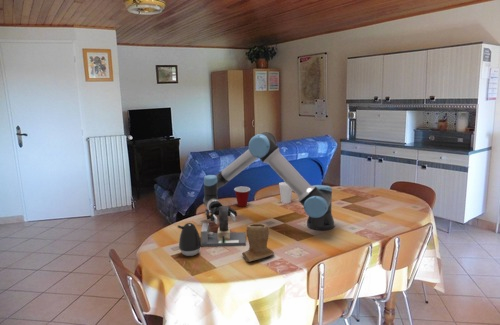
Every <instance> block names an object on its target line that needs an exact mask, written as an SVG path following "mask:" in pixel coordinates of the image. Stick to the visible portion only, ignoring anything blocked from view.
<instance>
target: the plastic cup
mask: <svg viewBox="0 0 500 325" xmlns="http://www.w3.org/2000/svg"><path fill="white" fill-rule="evenodd" d="M233 190H234V193H235V197H236V203H237V206H238V207H240V208H245V207H247V206H248V201H249V195H250V191H251V188H250V187H249V186H236V187H234V189H233Z"/></svg>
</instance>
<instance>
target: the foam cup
mask: <svg viewBox="0 0 500 325" xmlns="http://www.w3.org/2000/svg"><path fill="white" fill-rule="evenodd" d="M278 187H279V194H280V201H281V203H282V204H291V203H292V195H293V190H292V189H291V188H290V187H289V186H288V185H287V184H286V183H285V181H283V182H279V183H278Z"/></svg>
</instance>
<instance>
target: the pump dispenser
mask: <svg viewBox="0 0 500 325" xmlns="http://www.w3.org/2000/svg"><path fill="white" fill-rule="evenodd" d="M177 228H178V229H180V230H181V232H180V235H179V241H178V249H179V250H180V253H182V255H184V256H185V257H194V256H195V255H197V254H199V252H200V250H201V235H200V234H199V232H198V229H197V227H196V225H195V224H194V223H191V222H187V223H185V224H184V225H180V224H179V225H177Z"/></svg>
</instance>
